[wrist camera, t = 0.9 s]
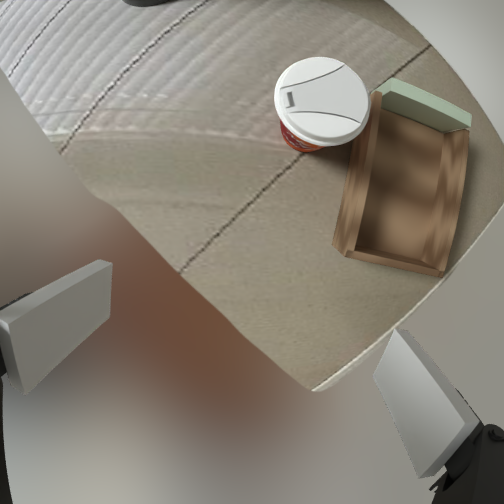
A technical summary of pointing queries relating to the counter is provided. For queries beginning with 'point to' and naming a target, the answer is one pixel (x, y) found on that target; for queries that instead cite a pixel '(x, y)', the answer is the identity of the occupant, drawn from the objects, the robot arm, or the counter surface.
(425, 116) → the book
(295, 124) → the paper cup
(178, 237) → the counter surface
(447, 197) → the crate
